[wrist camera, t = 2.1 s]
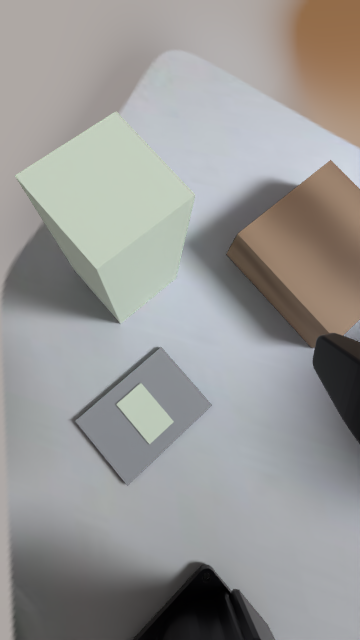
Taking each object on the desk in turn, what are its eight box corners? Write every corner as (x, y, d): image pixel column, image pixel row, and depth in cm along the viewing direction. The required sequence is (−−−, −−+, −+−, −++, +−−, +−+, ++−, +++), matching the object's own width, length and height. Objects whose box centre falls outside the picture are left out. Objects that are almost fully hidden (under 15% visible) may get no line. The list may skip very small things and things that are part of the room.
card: (127, 484, 20) (127, 486, 19) (76, 420, 20) (74, 421, 20) (211, 405, 21) (212, 405, 21) (161, 347, 22) (161, 346, 21)
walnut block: (309, 348, 23) (337, 341, 20) (224, 256, 24) (237, 233, 20) (387, 273, 25) (425, 255, 21) (306, 190, 26) (330, 160, 22)
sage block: (120, 323, 22) (96, 269, 12) (74, 269, 22) (14, 175, 13) (176, 278, 23) (195, 195, 13) (130, 228, 23) (116, 111, 14)
